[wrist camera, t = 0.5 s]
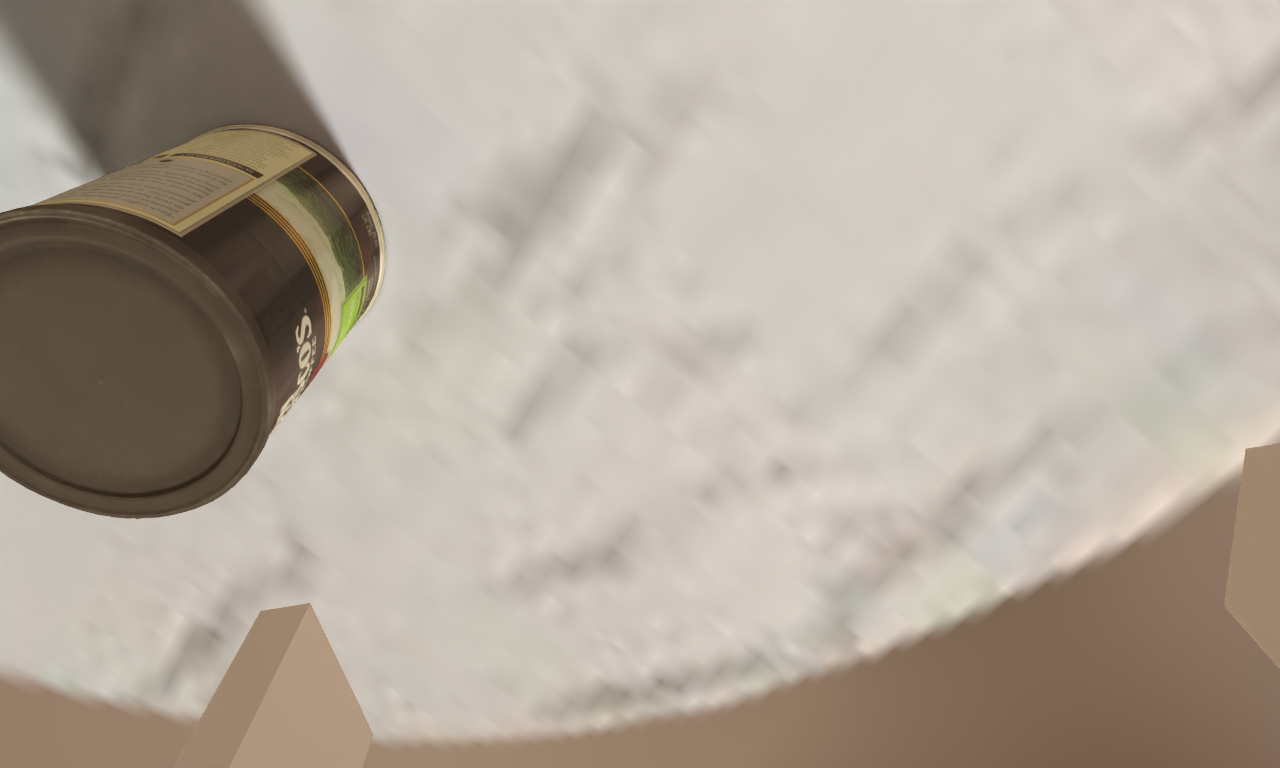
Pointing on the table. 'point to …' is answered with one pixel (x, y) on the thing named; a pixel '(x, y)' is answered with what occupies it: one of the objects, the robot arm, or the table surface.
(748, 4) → the table surface
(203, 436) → the coffee can
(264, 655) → the robot arm
